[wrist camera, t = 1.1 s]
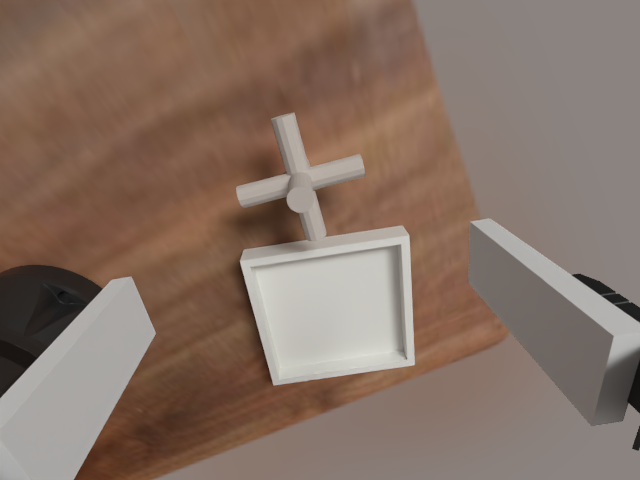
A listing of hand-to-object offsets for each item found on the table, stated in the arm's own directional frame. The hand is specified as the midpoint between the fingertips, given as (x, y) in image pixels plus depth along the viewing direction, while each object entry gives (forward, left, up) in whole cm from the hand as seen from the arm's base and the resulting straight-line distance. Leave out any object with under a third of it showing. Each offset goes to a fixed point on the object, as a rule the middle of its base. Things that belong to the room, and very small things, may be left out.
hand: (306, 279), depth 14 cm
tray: (+1, -16, -20) cm, 26 cm away
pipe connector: (0, 0, -21) cm, 21 cm away
